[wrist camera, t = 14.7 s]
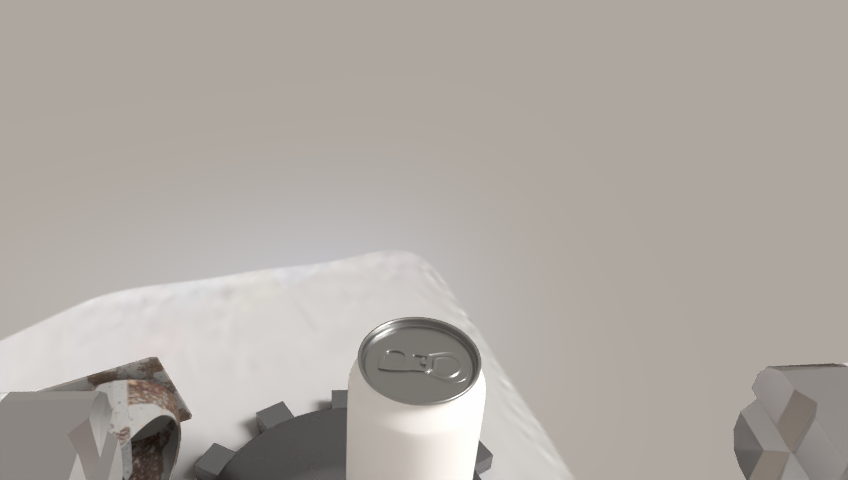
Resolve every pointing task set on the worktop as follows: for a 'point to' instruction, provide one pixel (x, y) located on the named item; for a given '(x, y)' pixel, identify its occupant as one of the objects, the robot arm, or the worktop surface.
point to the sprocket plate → (296, 448)
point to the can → (414, 403)
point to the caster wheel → (140, 415)
